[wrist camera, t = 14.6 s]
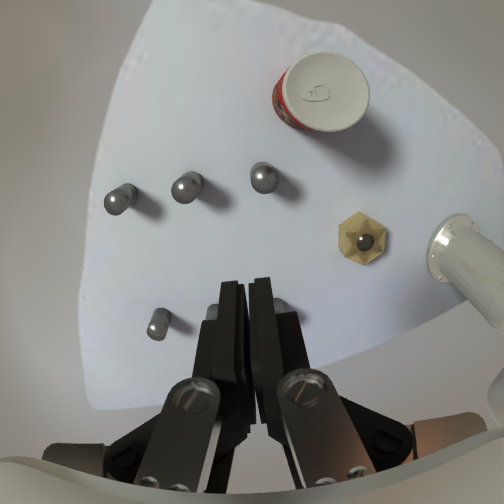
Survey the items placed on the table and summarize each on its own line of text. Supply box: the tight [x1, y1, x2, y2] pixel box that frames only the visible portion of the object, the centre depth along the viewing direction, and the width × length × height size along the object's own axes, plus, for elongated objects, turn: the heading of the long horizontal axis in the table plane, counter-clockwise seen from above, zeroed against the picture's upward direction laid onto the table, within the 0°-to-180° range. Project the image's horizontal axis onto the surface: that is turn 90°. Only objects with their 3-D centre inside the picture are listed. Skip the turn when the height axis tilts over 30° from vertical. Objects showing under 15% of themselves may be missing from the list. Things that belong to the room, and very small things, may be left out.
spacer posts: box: [104, 162, 286, 341], centre depth 37 cm, size 21×23×4 cm
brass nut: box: [338, 212, 386, 265], centre depth 37 cm, size 7×6×3 cm
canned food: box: [272, 51, 370, 132], centre depth 25 cm, size 8×8×11 cm
